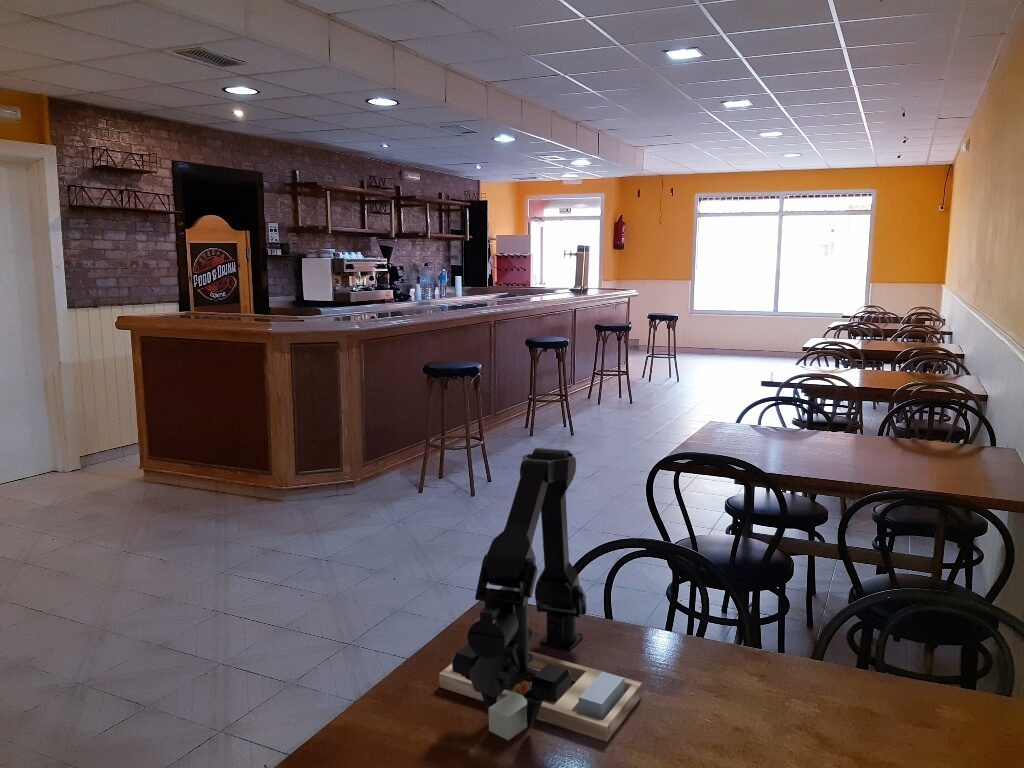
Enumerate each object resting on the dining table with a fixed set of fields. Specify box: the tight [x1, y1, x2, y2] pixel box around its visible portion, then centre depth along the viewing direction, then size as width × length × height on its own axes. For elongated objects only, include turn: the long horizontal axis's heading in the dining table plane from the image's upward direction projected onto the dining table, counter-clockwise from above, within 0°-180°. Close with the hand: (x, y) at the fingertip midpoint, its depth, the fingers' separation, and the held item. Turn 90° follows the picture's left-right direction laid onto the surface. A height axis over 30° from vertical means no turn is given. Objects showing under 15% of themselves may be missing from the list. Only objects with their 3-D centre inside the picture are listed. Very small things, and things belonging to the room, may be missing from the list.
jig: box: [438, 650, 643, 743], centre depth 133 cm, size 14×31×2 cm, turn 59°
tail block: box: [488, 692, 528, 741], centre depth 123 cm, size 6×4×4 cm, turn 139°
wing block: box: [578, 671, 626, 720], centre depth 127 cm, size 9×4×4 cm, turn 149°
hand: (511, 720), depth 123 cm, fingers open, 7 cm apart
